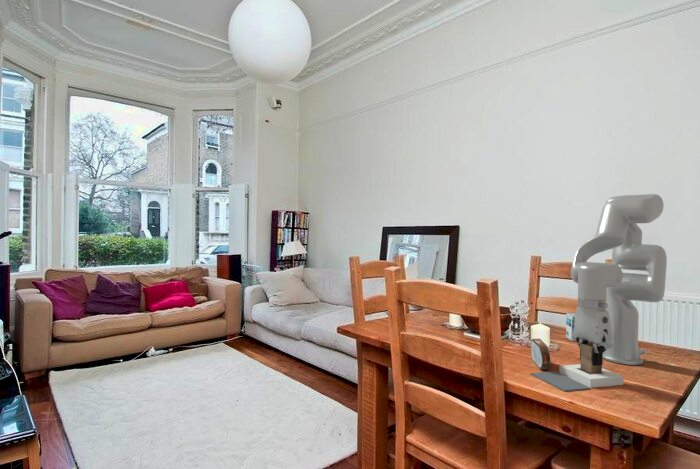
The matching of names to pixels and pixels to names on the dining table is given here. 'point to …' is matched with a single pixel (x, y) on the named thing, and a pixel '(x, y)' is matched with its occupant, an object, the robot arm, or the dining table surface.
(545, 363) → the tin
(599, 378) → the holder
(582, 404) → the dining table surface
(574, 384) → the mat
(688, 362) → the dining table surface
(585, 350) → the block
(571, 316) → the light bulb box
